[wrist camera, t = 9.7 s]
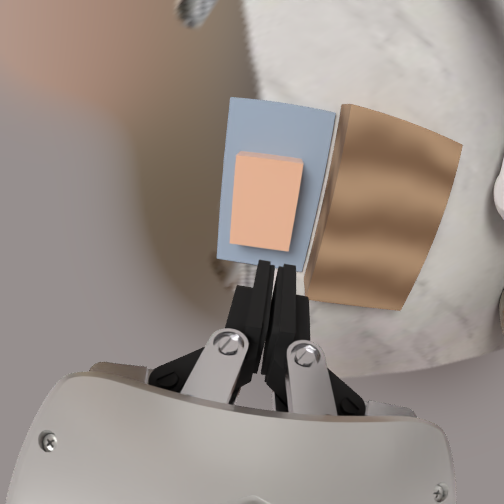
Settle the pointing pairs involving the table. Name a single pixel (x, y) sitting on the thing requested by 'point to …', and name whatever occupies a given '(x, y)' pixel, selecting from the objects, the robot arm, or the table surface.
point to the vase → (501, 311)
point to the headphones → (499, 192)
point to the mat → (283, 144)
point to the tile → (264, 200)
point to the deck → (379, 209)
